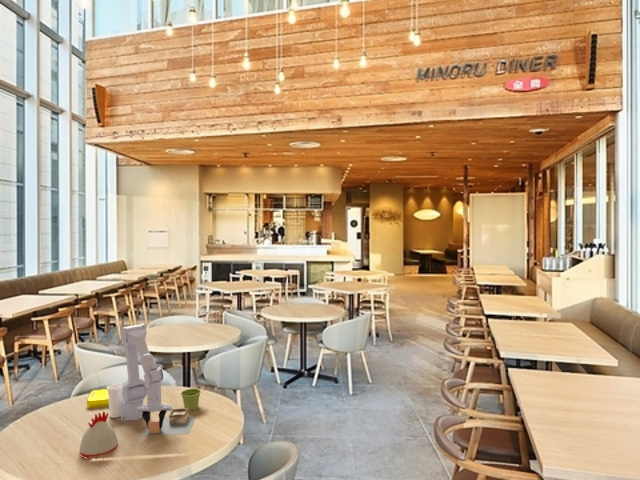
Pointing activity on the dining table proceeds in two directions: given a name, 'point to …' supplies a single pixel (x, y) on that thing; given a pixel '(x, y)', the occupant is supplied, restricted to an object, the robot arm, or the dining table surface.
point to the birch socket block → (178, 416)
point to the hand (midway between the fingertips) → (155, 427)
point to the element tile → (98, 399)
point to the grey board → (172, 428)
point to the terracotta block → (154, 425)
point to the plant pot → (191, 398)
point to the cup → (115, 399)
